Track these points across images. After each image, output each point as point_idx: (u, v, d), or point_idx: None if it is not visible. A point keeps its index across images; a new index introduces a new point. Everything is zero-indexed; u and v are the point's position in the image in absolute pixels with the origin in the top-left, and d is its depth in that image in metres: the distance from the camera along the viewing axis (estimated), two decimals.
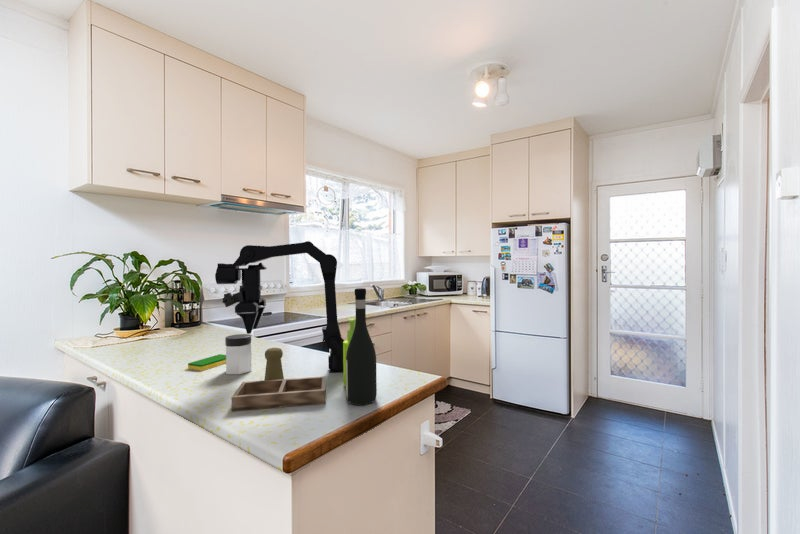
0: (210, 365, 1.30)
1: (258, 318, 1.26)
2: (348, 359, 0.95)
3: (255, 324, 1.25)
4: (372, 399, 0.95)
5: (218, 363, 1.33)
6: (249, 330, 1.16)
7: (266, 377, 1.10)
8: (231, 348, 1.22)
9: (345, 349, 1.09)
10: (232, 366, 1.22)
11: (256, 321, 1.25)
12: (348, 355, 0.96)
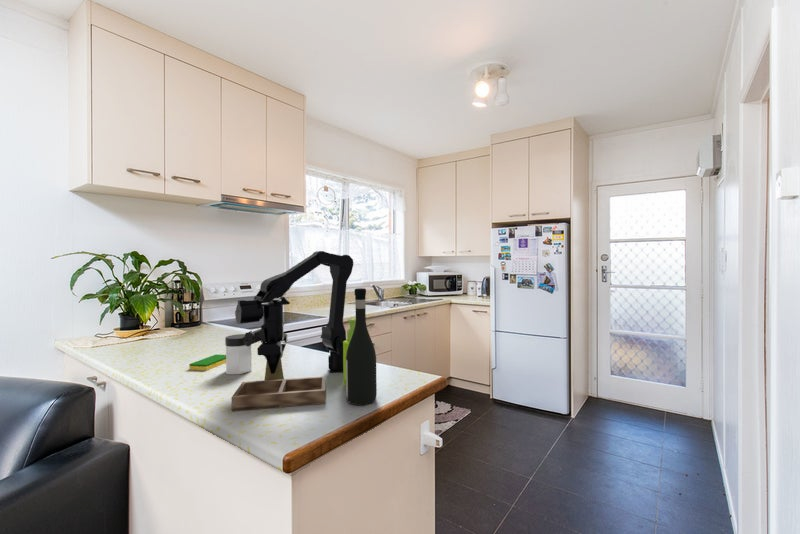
0: (213, 365, 1.30)
1: None
2: (348, 359, 0.95)
3: None
4: (372, 399, 0.95)
5: (219, 363, 1.34)
6: (273, 370, 1.09)
7: (266, 377, 1.10)
8: (231, 348, 1.22)
9: (345, 349, 1.09)
10: (232, 366, 1.22)
11: None
12: (348, 355, 0.96)
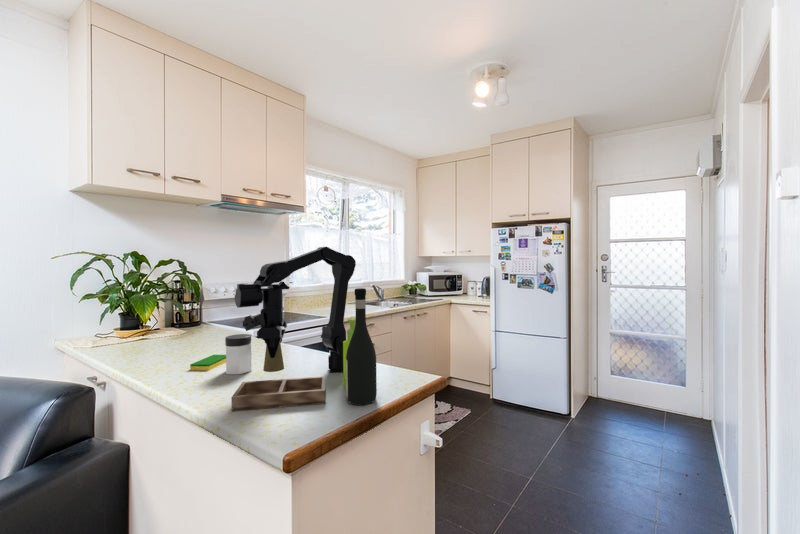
0: (214, 364, 1.31)
1: None
2: (348, 359, 0.95)
3: None
4: (372, 399, 0.95)
5: (220, 362, 1.34)
6: (273, 354, 1.09)
7: (266, 361, 1.10)
8: (231, 348, 1.22)
9: (345, 349, 1.09)
10: (232, 366, 1.22)
11: None
12: (348, 355, 0.96)
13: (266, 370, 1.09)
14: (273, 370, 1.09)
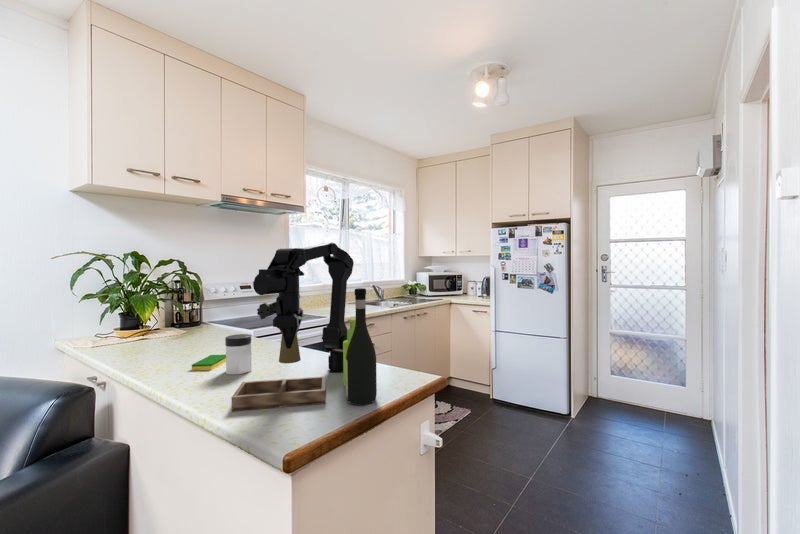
0: (216, 364, 1.31)
1: None
2: (348, 359, 0.95)
3: None
4: (372, 399, 0.95)
5: (221, 362, 1.34)
6: (289, 344, 1.02)
7: (281, 352, 1.03)
8: (231, 348, 1.22)
9: (345, 349, 1.09)
10: (232, 366, 1.22)
11: None
12: (348, 355, 0.96)
13: (282, 361, 1.03)
14: (289, 361, 1.02)
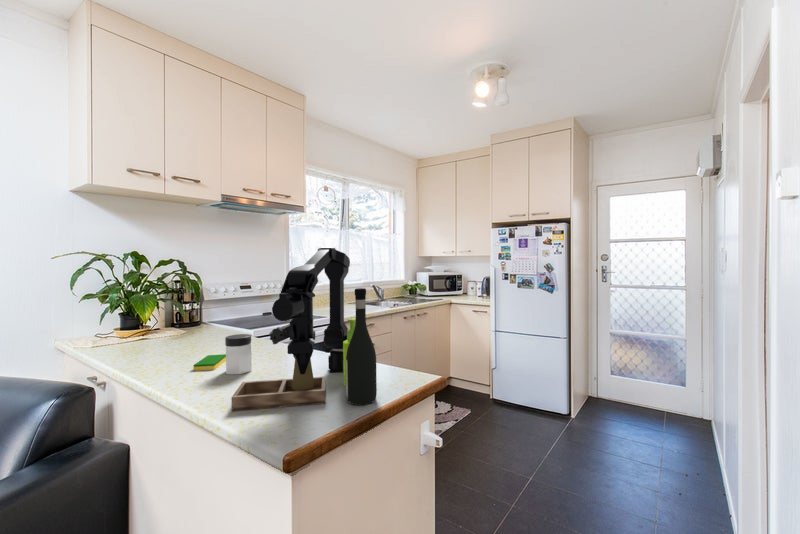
0: (218, 364, 1.32)
1: None
2: (348, 359, 0.95)
3: None
4: (372, 399, 0.95)
5: (221, 362, 1.35)
6: (303, 370, 0.98)
7: (295, 378, 0.99)
8: (231, 348, 1.22)
9: (345, 349, 1.09)
10: (232, 366, 1.22)
11: None
12: (348, 355, 0.96)
13: (295, 388, 0.98)
14: (303, 388, 0.98)
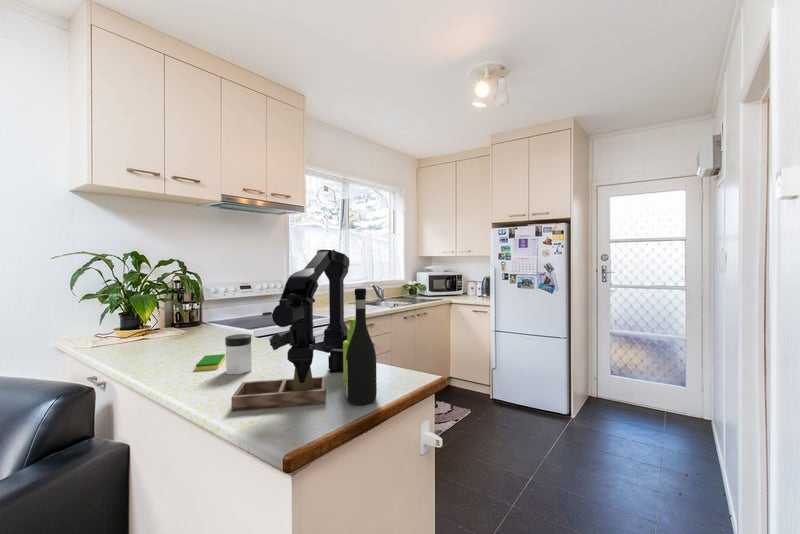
0: (219, 363, 1.32)
1: None
2: (348, 359, 0.95)
3: None
4: (372, 399, 0.95)
5: (221, 361, 1.35)
6: (302, 379, 0.96)
7: (295, 386, 0.99)
8: (231, 348, 1.22)
9: (345, 349, 1.09)
10: (232, 366, 1.22)
11: None
12: (348, 355, 0.96)
13: None
14: None
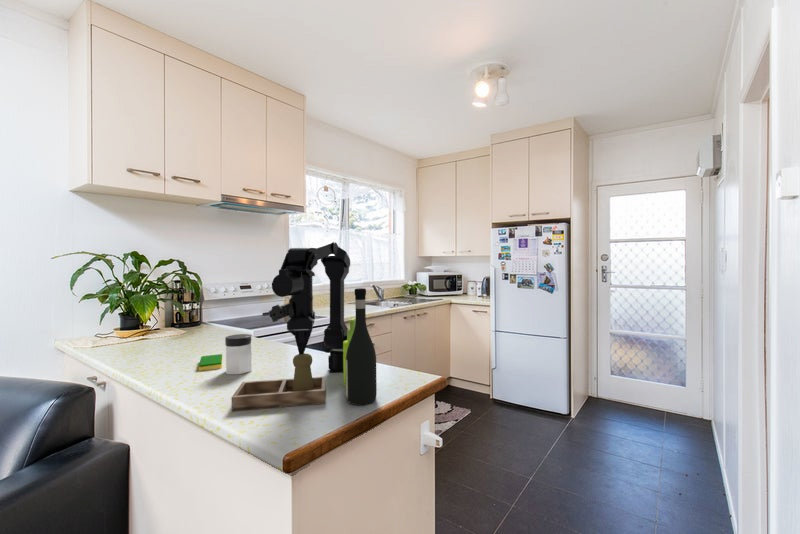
0: None
1: None
2: (348, 359, 0.95)
3: None
4: (372, 399, 0.95)
5: None
6: (302, 350, 0.96)
7: (295, 386, 0.99)
8: (231, 348, 1.22)
9: (345, 349, 1.09)
10: (232, 366, 1.22)
11: None
12: (348, 355, 0.96)
13: None
14: None
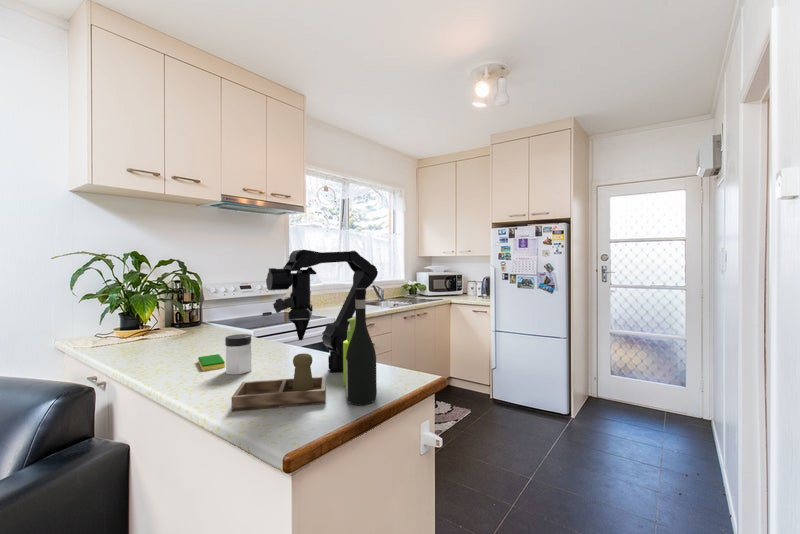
0: None
1: None
2: (348, 359, 0.95)
3: None
4: (372, 399, 0.95)
5: None
6: (301, 336, 1.13)
7: (295, 386, 0.99)
8: (231, 348, 1.22)
9: (345, 349, 1.09)
10: (232, 366, 1.22)
11: None
12: (348, 355, 0.96)
13: None
14: None
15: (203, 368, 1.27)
